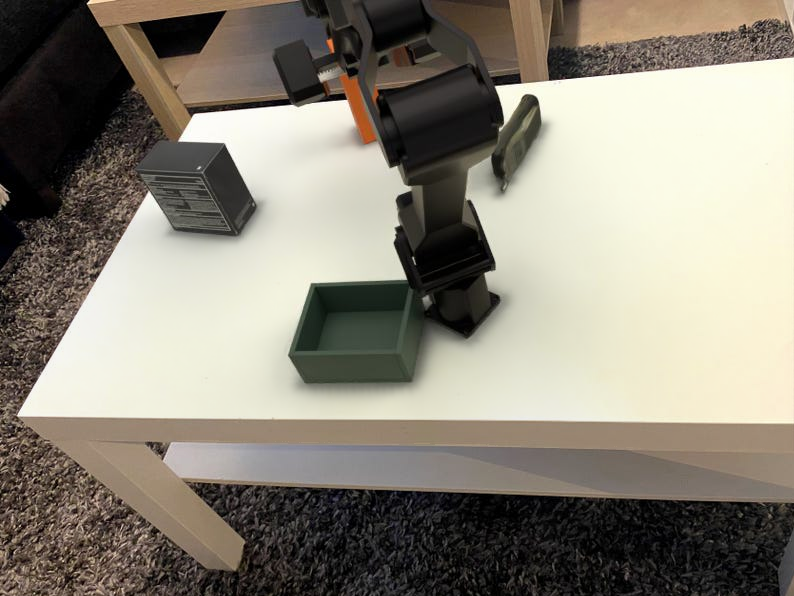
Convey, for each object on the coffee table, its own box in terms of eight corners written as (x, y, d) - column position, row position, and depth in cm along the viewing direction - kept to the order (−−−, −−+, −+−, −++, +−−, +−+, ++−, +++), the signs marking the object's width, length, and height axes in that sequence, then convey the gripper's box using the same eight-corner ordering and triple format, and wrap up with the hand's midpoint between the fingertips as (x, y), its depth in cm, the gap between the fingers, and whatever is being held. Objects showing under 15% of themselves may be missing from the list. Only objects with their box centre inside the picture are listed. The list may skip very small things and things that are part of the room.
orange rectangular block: (390, 134, 105) (362, 43, 94) (364, 144, 105) (333, 53, 94) (383, 120, 108) (354, 29, 97) (357, 129, 107) (326, 40, 96)
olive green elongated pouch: (520, 89, 98) (481, 158, 90) (542, 91, 97) (504, 161, 89) (524, 122, 102) (487, 191, 94) (545, 123, 101) (509, 193, 93)
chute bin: (426, 308, 84) (415, 278, 80) (412, 382, 78) (400, 353, 74) (325, 311, 86) (310, 282, 82) (304, 383, 80) (287, 355, 76)
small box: (260, 203, 100) (227, 140, 92) (238, 237, 97) (202, 173, 89) (195, 199, 103) (157, 137, 95) (172, 231, 100) (131, 169, 92)
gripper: (412, -80, 75) (407, -14, 91) (239, -20, 73) (264, 36, 89) (453, 26, 76) (441, 73, 92) (283, 87, 75) (300, 125, 90)
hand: (361, 75), depth 91 cm, fingers open, 9 cm apart
